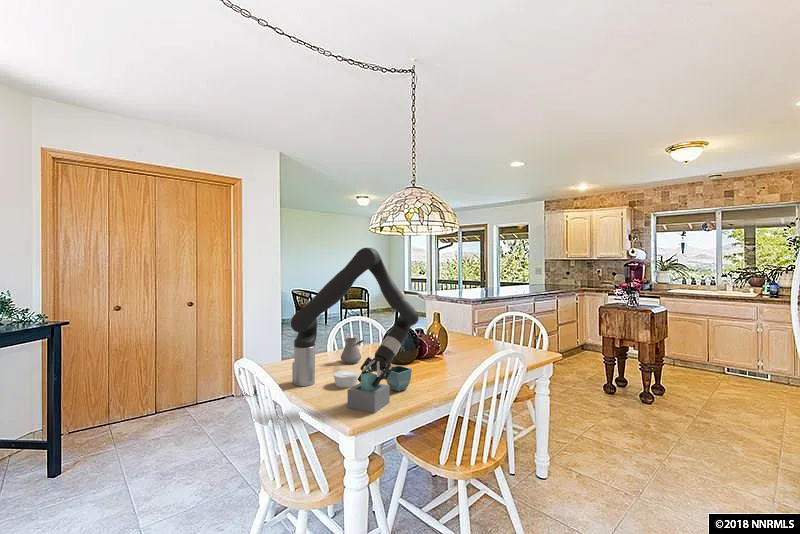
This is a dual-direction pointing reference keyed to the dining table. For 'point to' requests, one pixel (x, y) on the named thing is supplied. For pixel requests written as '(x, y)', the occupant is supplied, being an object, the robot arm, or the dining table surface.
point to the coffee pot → (351, 351)
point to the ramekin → (346, 378)
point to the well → (368, 398)
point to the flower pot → (399, 378)
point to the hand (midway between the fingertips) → (366, 384)
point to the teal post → (368, 382)
